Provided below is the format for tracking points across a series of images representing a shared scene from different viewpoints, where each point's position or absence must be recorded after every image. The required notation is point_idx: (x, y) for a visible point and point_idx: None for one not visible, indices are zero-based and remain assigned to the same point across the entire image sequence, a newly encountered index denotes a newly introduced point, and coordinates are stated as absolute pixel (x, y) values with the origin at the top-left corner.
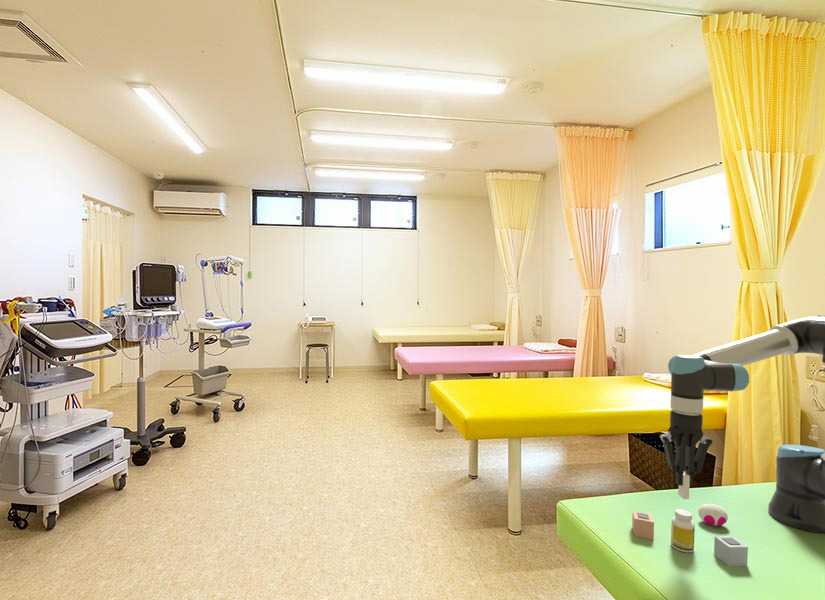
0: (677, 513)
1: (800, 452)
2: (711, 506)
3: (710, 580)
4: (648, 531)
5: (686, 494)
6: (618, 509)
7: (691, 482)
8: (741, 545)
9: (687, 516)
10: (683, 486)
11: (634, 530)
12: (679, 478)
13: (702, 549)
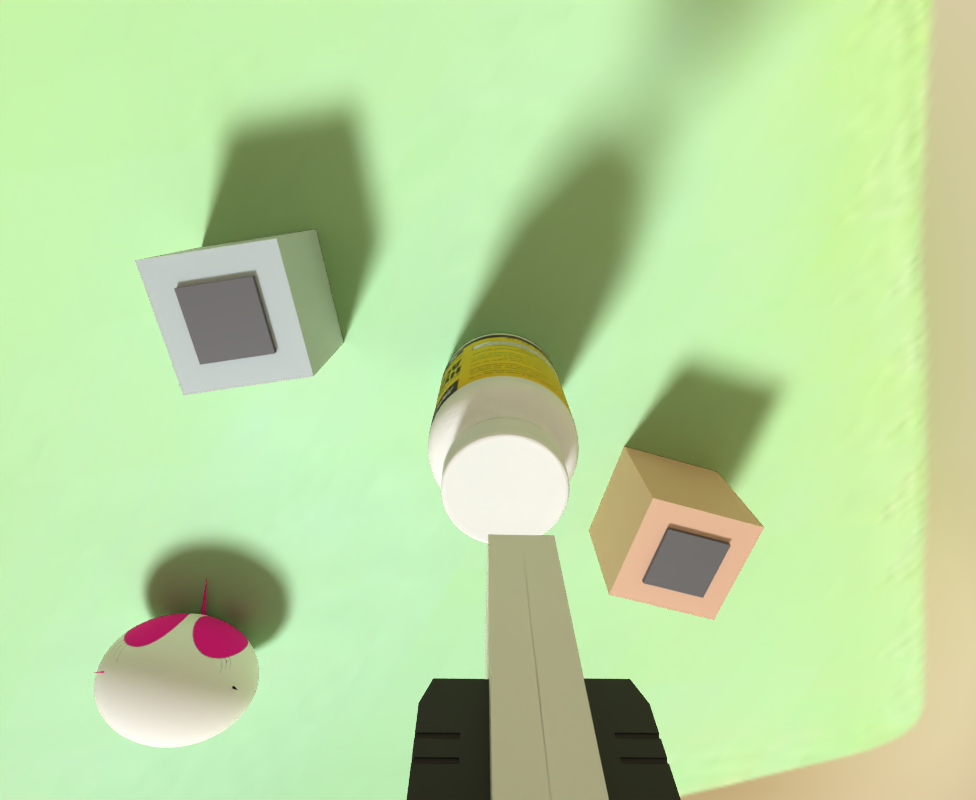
0: (566, 472)
1: None
2: (164, 716)
3: (511, 49)
4: (661, 472)
5: (520, 571)
6: (659, 701)
7: (436, 731)
8: (173, 274)
9: (506, 430)
10: (576, 653)
11: (728, 485)
12: (653, 787)
13: (387, 383)
